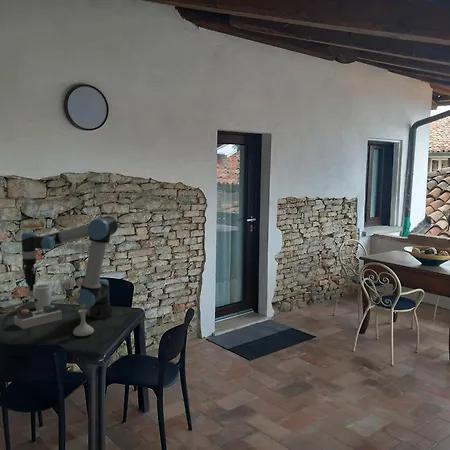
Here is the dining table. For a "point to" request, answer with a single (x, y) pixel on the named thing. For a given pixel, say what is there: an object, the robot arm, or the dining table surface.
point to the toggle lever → (36, 305)
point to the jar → (43, 295)
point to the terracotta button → (24, 311)
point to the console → (38, 317)
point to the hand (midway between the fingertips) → (31, 295)
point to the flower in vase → (83, 327)
